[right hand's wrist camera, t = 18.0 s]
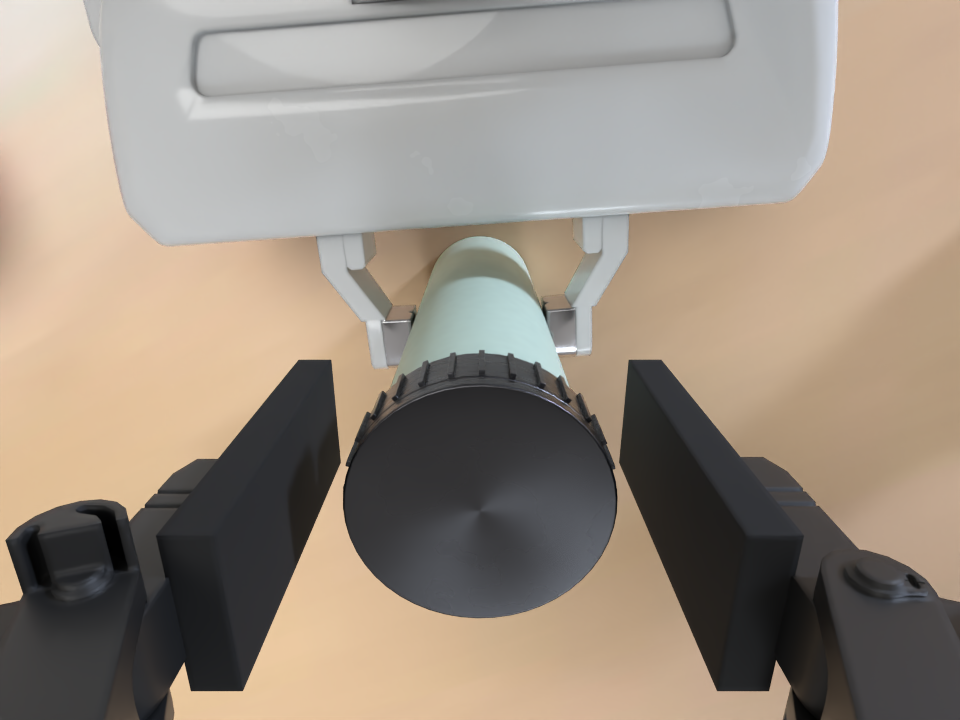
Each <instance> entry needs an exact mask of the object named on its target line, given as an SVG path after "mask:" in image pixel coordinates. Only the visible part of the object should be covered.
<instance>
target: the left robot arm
mask: <svg viewBox="0 0 960 720" xmlns="http://www.w3.org/2000/svg"><path fill="white" fill-rule="evenodd" d="M83 2H84V5H85V9H86V13H87V17H88V21H89V25H90V28H91V31H92V34H93V36H94V38H95V40H96V42H97V44H98V45H99V47H100V58H101V69H102V79H103V89H104V98H105V107H106V114H107V120H108V127H109V134H110V140H111V146H112V152H113V157H114V163H115V168H116V173H117V178H118V183H119V188H120V192H121V196H122V199H123V203H124V206H125V208H126V211H127V213H128V215H129V216H130V217H131V218H132V219H133V220H134V221H135V222H136V223H137V224H138V225H139V226H140V227H141V228H142V229H143V230H144V231H145V232H146V233H147V234H148V235H149V236H150V237H152V238H153V239H154V240H155V241H156V242H157V243H159V244H161V245H163V246H185V245H199V244H213V243H227V242H242V241H256V240H270V239H284V238H298V237H312V236H316V239H317V245H318V251H319V257H320V263H321V269H322V273H323V275H324V276H325V277H326V278H327V280H328V281H329V282H330V283H331V284H332V286H333V287H334V288H335V289H336V291H337V292H338V293H339V294H340V296H341V297H342V298H343V299H344V301H345V302H346V303H347V304H348V306H349V307H350V308H351V309H352V311H353V312H354V313H355V314H356V315H357V317H358V318H359V319H360V320H361V322H366V329H367V336H368V343H369V350H370V356H371V363H372V366H373V368H374V369H389V368H396V367H398V365H399V362H400V360H401V357H402V354H403V351H404V348H405V346H406V343H407V340H408V337H409V334H410V332H411V329H412V326H413V323H414V320H415V318H416V315H417V312H416V305H405V306H392V303H391V302H390V300H389V299H388V298H387V296H386V295H385V293H384V292H383V291H382V289H381V288H380V286H379V285H378V284H377V282H376V281H375V279H374V278H373V277H372V275H371V274H370V272H369V271H368V270H367V268H366V267H365V266H366V265H367V264H368V263H369V261H370V260H371V259H372V258H373V257H374V256H375V255H376V245H375V237H374V232H382V231H396V230H410V229H424V228H438V227H452V226H467V225H481V224H495V223H509V222H523V221H537V220H551V219H565V218H573V240H574V241H575V242H576V243H577V244H578V245H579V246H580V247H581V249H582V250H583V251H584V252H586V253H585V255H584V256H583V258H582V260H581V262H580V264H579V266H578V268H577V270H576V272H575V273H574V275H573V277H572V279H571V281H570V283H569V285H568V287H567V289H566V291H565V292H564V293H565V294H563V295H552V296H541V306H542V312H543V314H544V317H545V320H546V323H547V326H548V328H549V331H550V334H551V337H552V340H553V342H554V345H555V348H556V351H557V353H558V356H559V357H571V356H586V355H590V354H591V351H592V306H596V305H597V303H598V301H599V300H600V298H601V296H602V295H603V293H604V291H605V290H606V288H607V286H608V285H609V283H610V281H611V280H612V278H613V276H614V275H615V273H616V271H617V270H618V268H619V266H620V265H621V263H622V261H623V260H624V258H625V256H626V255H627V253H628V233H629V214H635V213H649V212H663V211H677V210H692V209H706V208H720V207H734V206H748V205H761V204H775V203H786V202H789V201H791V200H793V199H794V198H795V197H796V196H797V195H798V194H799V193H800V192H801V191H802V190H803V188H804V187H805V186H806V185H807V183H808V182H809V181H810V180H811V178H812V177H813V176H814V175H815V173H816V172H817V171H818V170H819V168H820V167H821V165H822V163H823V161H824V159H825V156H826V152H827V148H828V143H829V137H830V130H831V122H832V113H833V103H834V92H835V79H836V65H837V40H838V0H83Z"/></svg>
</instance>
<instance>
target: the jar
mask: <svg viewBox="0 0 960 720" xmlns="http://www.w3.org/2000/svg"><path fill="white" fill-rule="evenodd" d="M479 350H485V353H488V354H500V355H505V356H507V355H508V353H512V354H514V357H515V358H518V359H521V360H524V361H527V362H530V363H533V364H534V363H535V361H536V362H539V363H540V364H541V367H542V368H543V369H545V370H547V371H548V372H550V373H551V374H553V375H554V376H556V377H557V378H558V377H559V375H561V376H562V377H564V379H565V382H566V385H567V386H568V387H569V384H568V381H567V379H566V376H565V373H564V370H563V367H562V365H561V362H560V359H559V356H558V353H557V351H556V348H555V345H554V342H553V340H552V337H551V334H550V331H549V328H548V326H547V323H546V320H545V317H544V314H543V312H542V309H541V306H540V303H539V301H538V298H537V295H536V292H535V289H534V287H533V284H532V281H531V278H530V275H529V273H528V270H527V267H526V265H525V263H524V261H523V259H522V258H521V257H520V255H519V254H518V253H517V252H516V251H515V250H514V249H513V248H512V247H511V246H509V245H508V244H506V243H505V242H503V241H500V240H498V239H495V238H492V237H485V236H475V237H469V238H465V239H462V240H460V241H457V242H456V243H454V244H452V245H451V246H450V247H448V248H447V249H446V250H445V251H444V252H443V253H442V254H441V255H440V257H439V258H438V260H437V261H436V263H435V265H434V268H433V270H432V273H431V276H430V279H429V281H428V284H427V287H426V290H425V292H424V295H423V298H422V301H421V304H420V306H419V309H418V312H417V315H416V318H415V320H414V323H413V326H412V329H411V332H410V334H409V337H408V340H407V343H406V346H405V348H404V351H403V354H402V357H401V360H400V362H399V365H398V368H397V371H396V374H395V376H394V379H393V382H392V385H391V387H392V386H393V385H394V384H395V383H397V380H398V377H399V375H401V374H402V373H403V374H404V375H405V376H406V375H407V374H409V373H411V372H412V371H414V370H416V369H417V368H419V367H421V366H422V363H423V362H424V361H426V360H428V361H429V363H431V362H433V361H436V360H439V359H443V358H446V357H449V356H450V353H453V352H456V355H461V354H472V353H479ZM569 388H570V387H569Z"/></svg>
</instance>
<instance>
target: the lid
mask: <svg viewBox="0 0 960 720" xmlns="http://www.w3.org/2000/svg"><path fill="white" fill-rule="evenodd" d="M606 444H607V442H606V439H605V437H604V435H603V432H602V430H601V427H600V425H599V423H598V420H597V418H596V416H595V414H594V415H592V416H591V415H590V413H589V410H588V408H587V405H586V403H585V400H584V398H583V396H582V395H581V393H579V394H578V395H576V394H575V393H574V392H573V390H572V389H571V388H569V387H568V386H567V385H566V382H565V379H564V377H562V376H561V375H559V377H558V378H557V377H556V376H554V375H553V374H551V373H550V372H548V371H547V370H545V369H543V368H542V367H541V364H540V363H539V362H536V361H535V363H534V364H533V363H530V362H527V361H524V360H521V359H518V358H515V357H514V354H512V353H508V355H507V356H505V355H500V354H488V353H485V350H479V353H472V354H461V355H456V352H453V353H450V356H449V357H446V358H443V359H439V360H436V361H433V362H431V363H429V361H428V360H426V361H424V362H423V363H422V366H421V367H419V368H417V369H416V370H414V371H412V372H411V373H409V374H407V375H406V376H405V375H404V374H403V373H402V374H401V375H399V377H398V380H397V383H395V384H394V385H393V386H392V387H391V388H390V389H389V390H388V391H387V392H386V393H385V392H384V391H382V392H381V393H380V394H379V396H378V399H377V401H376V404H375V406H374V409H373V410H372V412H371V413H369V412H367V413H366V415H365V417H364V419H363V422H362V424H361V426H360V429H359V431H358V434H357V436H356V438H355V442H354V445H353V447H352V450H351V452H350V454H349V457H348V459H347V462H346V466H348V467H349V468H348V471H347V474H346V478H345V484H344V486H343V510H344V517H345V523H346V526H347V530H348V533H349V536H350V539H351V541H352V543H353V545H354V547H355V549H356V552H357V553H358V555H359V556H360V558H361V559H362V561H363V562H364V564H365V565H366V566H367V568H368V569H369V570H370V571H371V572H372V573H373V574H374V576H375V577H376V578H378V579H379V580H380V581H381V582H382V583H383V584H384V585H385V586H386V587H388V588H389V589H391V590H392V591H393V592H395V593H396V594H398V595H399V596H401V597H403V598H404V599H406V600H408V601H410V602H412V603H414V604H416V605H419V606H421V607H424V608H426V609H428V610H432V611H435V612H439V613H442V614H446V615H452V616H458V617H468V618H495V617H502V616H509V615H514V614H518V613H522V612H526V611H529V610H531V609H534V608H537V607H540V606H542V605H544V604H546V603H548V602H550V601H552V600H554V599H556V598H558V597H559V596H561V595H562V594H564V593H566V592H567V591H569V590H570V589H571V588H572V587H574V586H575V585H576V584H577V583H578V582H580V581H581V580H582V579H583V578H584V577H585V576H586V575H587V574H588V573H589V572H590V570H591V569H592V568H593V567H594V565H595V564H596V563H597V561H598V560H599V559H600V557H601V556H602V554H603V552H604V550H605V548H606V546H607V544H608V542H609V539H610V537H611V534H612V531H613V528H614V524H615V519H616V514H617V488H616V481H615V477H614V473H613V469H615V465H614V462H613V460H612V457H611V455H610V452H609V450H608V447H607V445H606Z"/></svg>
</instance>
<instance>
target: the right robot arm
mask: <svg viewBox="0 0 960 720" xmlns="http://www.w3.org/2000/svg"><path fill="white" fill-rule="evenodd" d="M340 463H341V460H340V449H339V438H338V428H337V417H336V406H335V395H334V385H333V374H332V363H331V360H298V361H297V363H296V364H295V365H294V366H293V368H292V369H291V370H290V371H289V372H288V374H287V375H286V376H285V377H284V379H283V380H282V381H281V382H280V384H279V385H278V386H277V387H276V388H275V390H274V391H273V392H272V393H271V395H270V396H269V397H268V398H267V400H266V401H265V402H264V403H263V404H262V406H261V407H260V408H259V409H258V411H257V412H256V413H255V414H254V415H253V417H252V418H251V419H250V420H249V422H248V423H247V424H246V425H245V427H244V428H243V429H242V430H241V431H240V433H239V434H238V435H237V436H236V438H235V439H234V440H233V441H232V443H231V444H230V445H229V446H228V447H227V449H226V450H225V451H224V452H223V454H222V455H221V456H220V457H219V458H218V459H197V460H195V461H193V462H192V463H190V464H188V465H187V466H185V467H183V468H182V469H180V470H178V471H177V472H175V473H173V474H172V475H171V477H170V478H169V479H168V480H167V481H166V482H165V483H164V484H163V485H162V486H161V488H160V489H159V490H158V494H154V495H153V496H152V497H151V498H150V500H149V501H148V502H147V503H146V504H145V508H141V509H140V511H139V512H138V513H137V514H136V515H135V516H134V517H133V518H132V519H131V520H130V521H129V520H128V516H127V512H126V508H125V507H123V506H122V505H120V504H119V503H117V502H114V501H108V500H101V499H100V500H88V501H79V502H75V503H71V504H67V505H63V506H59V507H56V508H54V509H51V510H49V511H47V512H44V513H42V514H39V515H37V516H35V517H33V518H32V519H30V520H29V521H27V522H25V523H24V524H22V525H21V526H19V527H18V528H16V530H15V531H14V532H13V533H12V534H11V535H10V536H9V537H8V538H7V539H6V540H5V541H6V544H7V547H8V550H9V553H10V556H11V559H12V562H13V565H14V568H15V571H16V574H17V577H18V580H19V583H20V586H21V589H22V592H23V596H22V598H21V600H20V601H16V602H12V603H7V604H2V605H0V720H173V719H174V708H173V701H172V697H171V692H170V686H171V685H172V683H173V681H174V679H175V678H176V676H177V674H178V672H179V670H180V669H181V667H182V665H183V663H184V662H185V667H186V671H187V675H188V680H189V684H190V689H191V691H243V689H244V687H245V685H246V682H247V680H248V678H249V675H250V673H251V671H252V668H253V666H254V664H255V661H256V659H257V657H258V654H259V652H260V650H261V647H262V645H263V643H264V640H265V638H266V636H267V633H268V631H269V629H270V626H271V624H272V622H273V619H274V617H275V615H276V612H277V610H278V608H279V605H280V603H281V601H282V598H283V596H284V594H285V591H286V589H287V587H288V584H289V582H290V580H291V577H292V575H293V573H294V570H295V568H296V566H297V563H298V561H299V559H300V556H301V554H302V552H303V549H304V547H305V545H306V542H307V540H308V538H309V535H310V533H311V531H312V528H313V526H314V524H315V521H316V519H317V517H318V514H319V512H320V510H321V507H322V505H323V503H324V500H325V498H326V496H327V493H328V491H329V489H330V486H331V484H332V482H333V479H334V477H335V475H336V472H337V470H338V468H339V465H340ZM619 463H620V465H621V468H622V470H623V472H624V475H625V477H626V479H627V482H628V484H629V486H630V489H631V491H632V493H633V496H634V498H635V500H636V503H637V505H638V507H639V510H640V512H641V514H642V517H643V519H644V521H645V524H646V526H647V528H648V531H649V533H650V535H651V538H652V540H653V542H654V545H655V547H656V549H657V552H658V554H659V556H660V559H661V561H662V563H663V566H664V568H665V570H666V573H667V575H668V577H669V580H670V582H671V584H672V587H673V589H674V591H675V594H676V596H677V598H678V601H679V603H680V605H681V608H682V610H683V612H684V615H685V617H686V619H687V622H688V624H689V626H690V629H691V631H692V633H693V636H694V638H695V640H696V643H697V645H698V647H699V650H700V652H701V654H702V657H703V659H704V661H705V664H706V666H707V668H708V671H709V673H710V675H711V678H712V680H713V682H714V685H715V687H716V689H717V691H769V689H770V684H771V680H772V675H773V671H774V667H775V662H776V660H777V662H778V664H779V666H780V667H781V669H782V671H783V673H784V674H785V676H786V678H787V680H788V681H789V683H790V685H791V688H790V692H789V697H788V701H787V705H786V709H785V713H784V717H783V720H960V602H956V601H952V600H947V599H943V598H939V597H938V595H937V593H936V592H935V590H934V589H933V588H932V586H931V585H930V584H929V583H928V581H927V580H926V579H925V578H923V577H922V576H921V575H919V574H918V573H917V572H915V571H914V570H912V569H911V568H910V567H908V566H906V565H904V564H902V563H900V562H898V561H896V560H894V559H892V558H890V557H887V556H884V555H880V554H877V553H873V552H870V551H866V550H859V549H858V548H857V547H856V546H855V545H854V544H853V543H852V542H851V540H850V539H849V538H848V537H847V536H846V535H845V534H844V533H843V532H842V531H841V530H840V528H839V527H838V526H837V525H836V524H835V523H834V522H833V521H832V520H831V519H830V518H829V517H828V515H827V514H826V513H825V512H824V511H823V510H822V509H821V508H820V507H819V506H816V504H815V503H816V502H815V501H814V500H813V499H812V498H811V497H810V496H809V495H808V494H807V493H806V492H803V488H802V487H801V486H800V485H799V484H798V483H797V482H796V481H795V480H794V478H793V477H792V476H791V475H790V474H789V473H788V472H787V471H785V470H784V469H782V468H780V467H779V466H777V465H775V464H774V463H772V462H770V461H769V460H767V459H765V458H764V457H740V456H739V455H738V454H737V452H736V451H735V450H734V449H733V447H732V446H731V445H730V444H729V443H728V441H727V440H726V439H725V438H724V436H723V435H722V434H721V433H720V431H719V430H718V429H717V428H716V427H715V425H714V424H713V423H712V422H711V420H710V419H709V418H708V417H707V415H706V414H705V413H704V412H703V411H702V409H701V408H700V407H699V406H698V404H697V403H696V402H695V401H694V400H693V398H692V397H691V396H690V395H689V393H688V392H687V391H686V390H685V388H684V387H683V386H682V385H681V384H680V382H679V381H678V380H677V379H676V377H675V376H674V375H673V374H672V372H671V371H670V370H669V369H668V368H667V366H666V365H665V364H664V363H663V361H662V360H629V363H628V374H627V385H626V395H625V406H624V417H623V428H622V438H621V449H620V460H619Z"/></svg>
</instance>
